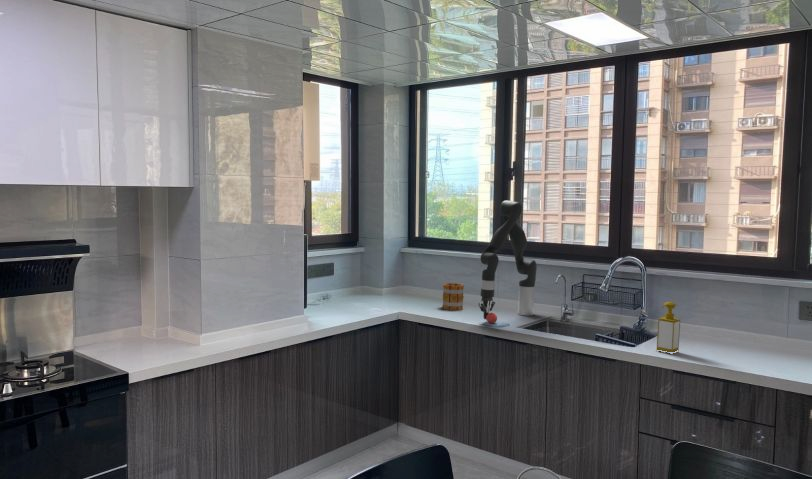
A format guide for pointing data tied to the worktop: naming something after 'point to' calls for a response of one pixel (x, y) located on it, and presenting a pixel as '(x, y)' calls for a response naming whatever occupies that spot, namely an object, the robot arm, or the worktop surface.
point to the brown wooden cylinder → (452, 296)
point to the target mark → (497, 324)
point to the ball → (491, 318)
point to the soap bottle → (668, 330)
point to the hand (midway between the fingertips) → (485, 318)
